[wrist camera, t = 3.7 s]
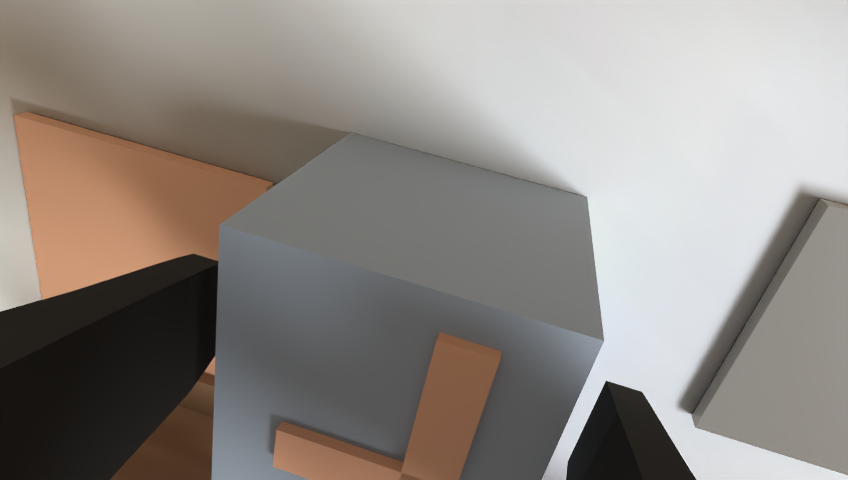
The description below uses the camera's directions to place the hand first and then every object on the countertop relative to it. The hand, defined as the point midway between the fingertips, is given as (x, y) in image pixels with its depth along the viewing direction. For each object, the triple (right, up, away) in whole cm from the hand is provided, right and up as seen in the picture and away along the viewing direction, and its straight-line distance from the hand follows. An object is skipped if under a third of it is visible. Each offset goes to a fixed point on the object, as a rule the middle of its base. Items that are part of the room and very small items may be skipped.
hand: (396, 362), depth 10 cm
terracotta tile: (-7, +2, +5) cm, 9 cm away
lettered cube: (+1, +2, +4) cm, 4 cm away
